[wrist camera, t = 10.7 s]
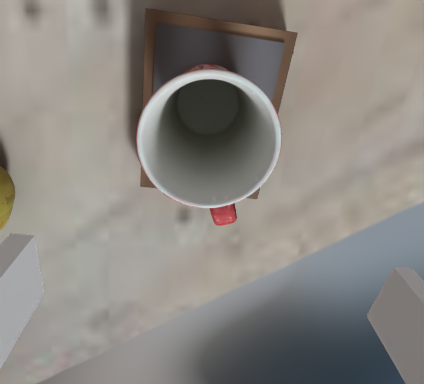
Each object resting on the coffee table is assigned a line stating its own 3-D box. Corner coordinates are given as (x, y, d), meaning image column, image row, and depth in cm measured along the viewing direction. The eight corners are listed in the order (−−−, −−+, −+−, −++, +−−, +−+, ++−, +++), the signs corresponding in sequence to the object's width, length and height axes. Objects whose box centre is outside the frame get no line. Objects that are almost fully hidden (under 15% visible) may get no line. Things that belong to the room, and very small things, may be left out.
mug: (152, 59, 28) (116, 82, 17) (247, 44, 28) (280, 57, 16) (178, 178, 35) (165, 257, 23) (256, 167, 34) (285, 241, 22)
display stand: (146, 172, 39) (139, 187, 35) (152, 10, 30) (145, 7, 26) (252, 184, 40) (257, 200, 36) (287, 32, 32) (298, 32, 28)
